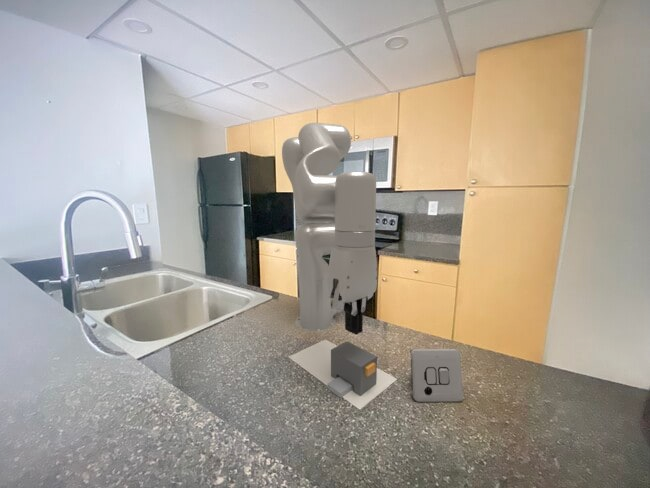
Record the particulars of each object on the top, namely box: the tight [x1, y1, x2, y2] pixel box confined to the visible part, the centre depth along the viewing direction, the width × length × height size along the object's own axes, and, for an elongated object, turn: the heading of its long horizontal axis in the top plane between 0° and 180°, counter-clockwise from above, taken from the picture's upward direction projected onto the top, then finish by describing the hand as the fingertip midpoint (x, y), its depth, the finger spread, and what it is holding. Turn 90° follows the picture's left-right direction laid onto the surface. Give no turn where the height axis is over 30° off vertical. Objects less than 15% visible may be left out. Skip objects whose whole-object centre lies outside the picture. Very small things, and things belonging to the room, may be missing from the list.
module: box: [331, 340, 378, 396], centre depth 53 cm, size 5×9×6 cm, turn 43°
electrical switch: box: [409, 348, 464, 403], centre depth 51 cm, size 9×5×9 cm, turn 90°
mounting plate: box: [288, 339, 398, 410], centre depth 58 cm, size 12×22×2 cm, turn 42°
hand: (353, 330), depth 52 cm, fingers closed
